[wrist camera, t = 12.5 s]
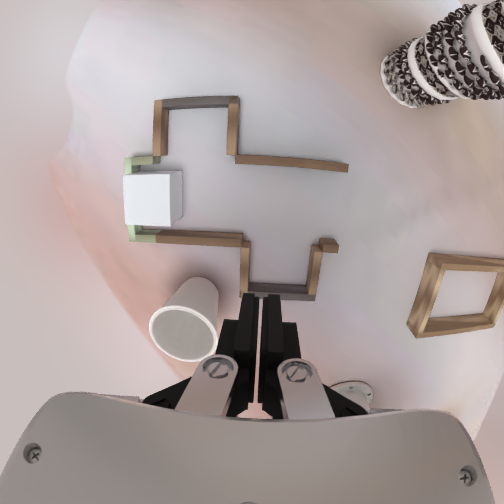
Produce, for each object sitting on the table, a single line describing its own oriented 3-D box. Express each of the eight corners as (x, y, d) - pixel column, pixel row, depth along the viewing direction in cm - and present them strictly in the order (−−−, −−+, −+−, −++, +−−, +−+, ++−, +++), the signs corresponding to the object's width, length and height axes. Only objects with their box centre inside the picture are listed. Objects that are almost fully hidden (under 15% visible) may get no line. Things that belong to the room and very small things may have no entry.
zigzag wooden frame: (325, 292, 38) (328, 301, 35) (142, 280, 38) (135, 287, 36) (345, 109, 28) (351, 106, 26) (134, 106, 29) (125, 104, 27)
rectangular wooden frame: (483, 317, 39) (493, 327, 35) (406, 324, 39) (415, 338, 35) (504, 259, 34) (517, 267, 30) (428, 252, 35) (442, 263, 31)
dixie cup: (161, 288, 39) (135, 328, 29) (200, 256, 36) (179, 293, 27) (199, 326, 41) (184, 371, 31) (240, 299, 39) (232, 344, 29)
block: (182, 216, 35) (170, 226, 30) (142, 214, 35) (125, 224, 30) (182, 170, 32) (169, 174, 28) (140, 171, 33) (122, 175, 28)
